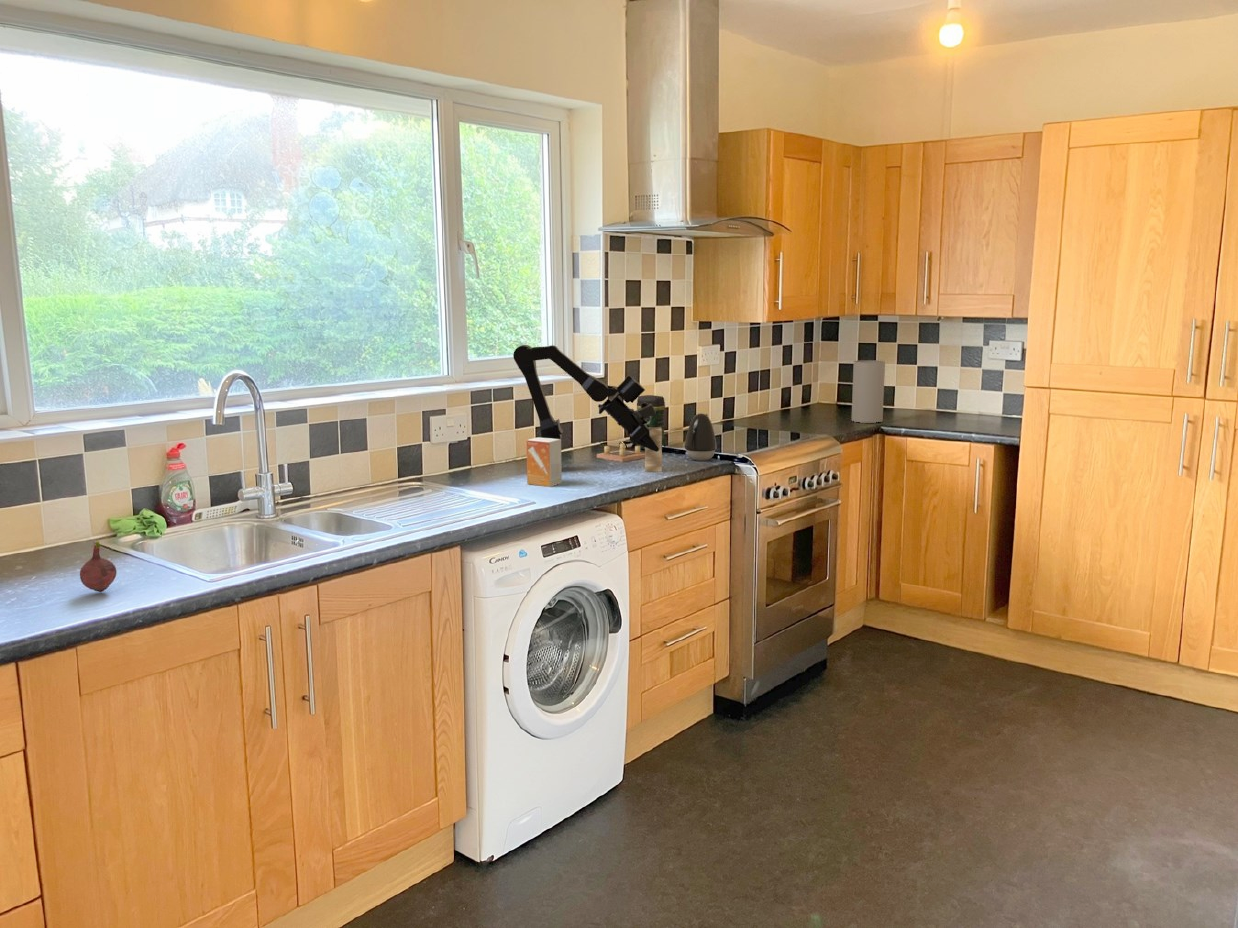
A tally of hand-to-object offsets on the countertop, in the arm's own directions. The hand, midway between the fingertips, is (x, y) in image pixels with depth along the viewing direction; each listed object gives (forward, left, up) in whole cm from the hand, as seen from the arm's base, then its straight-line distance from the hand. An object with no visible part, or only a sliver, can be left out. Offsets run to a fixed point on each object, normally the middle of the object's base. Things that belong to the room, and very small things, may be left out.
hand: (657, 449), depth 298 cm
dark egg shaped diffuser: (+22, +9, -7) cm, 25 cm away
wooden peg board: (+2, +26, -7) cm, 27 cm away
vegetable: (-154, -51, -7) cm, 162 cm away
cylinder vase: (+131, +47, -7) cm, 140 cm away
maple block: (-1, +1, -7) cm, 7 cm away
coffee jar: (+20, +37, -7) cm, 43 cm away
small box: (-39, -1, -7) cm, 40 cm away
